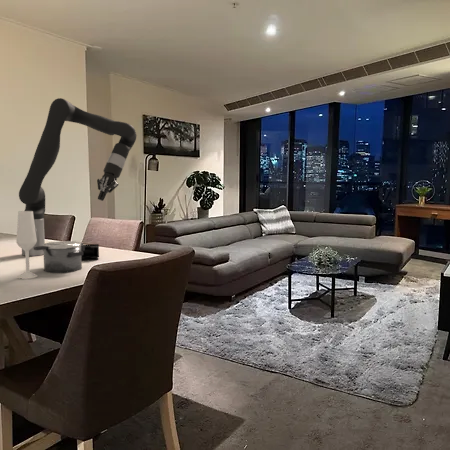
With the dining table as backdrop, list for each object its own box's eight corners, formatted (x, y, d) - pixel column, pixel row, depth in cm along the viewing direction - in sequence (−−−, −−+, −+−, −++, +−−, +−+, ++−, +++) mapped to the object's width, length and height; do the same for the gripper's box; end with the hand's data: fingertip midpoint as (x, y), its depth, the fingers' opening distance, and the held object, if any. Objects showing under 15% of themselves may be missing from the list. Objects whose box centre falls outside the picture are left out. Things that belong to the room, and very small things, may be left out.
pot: (68, 262, 174) (67, 242, 173) (96, 268, 162) (96, 246, 161) (33, 268, 161) (32, 246, 160) (61, 275, 150) (60, 251, 149)
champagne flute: (30, 273, 152) (28, 210, 150) (41, 276, 149) (39, 211, 146) (13, 277, 146) (11, 211, 144) (24, 279, 143) (22, 212, 141)
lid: (69, 242, 170) (69, 240, 170) (89, 246, 162) (89, 243, 162) (25, 248, 155) (25, 245, 155) (45, 252, 147) (45, 249, 147)
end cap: (98, 257, 187) (98, 243, 187) (99, 260, 181) (99, 245, 180) (75, 258, 184) (75, 244, 183) (76, 261, 177) (75, 246, 176)
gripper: (99, 160, 185) (84, 194, 182) (118, 162, 177) (103, 198, 174) (111, 167, 191) (97, 201, 188) (130, 170, 183) (115, 205, 180)
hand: (100, 199), depth 181 cm, fingers closed
